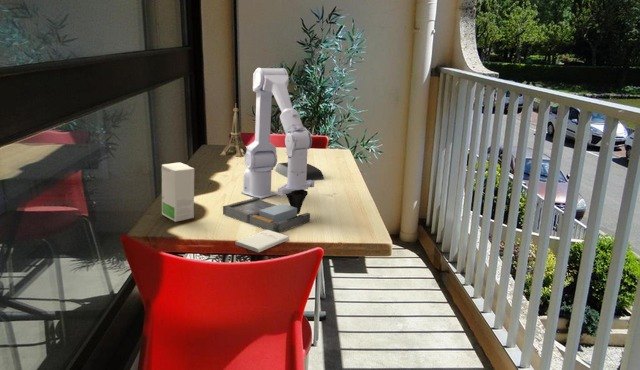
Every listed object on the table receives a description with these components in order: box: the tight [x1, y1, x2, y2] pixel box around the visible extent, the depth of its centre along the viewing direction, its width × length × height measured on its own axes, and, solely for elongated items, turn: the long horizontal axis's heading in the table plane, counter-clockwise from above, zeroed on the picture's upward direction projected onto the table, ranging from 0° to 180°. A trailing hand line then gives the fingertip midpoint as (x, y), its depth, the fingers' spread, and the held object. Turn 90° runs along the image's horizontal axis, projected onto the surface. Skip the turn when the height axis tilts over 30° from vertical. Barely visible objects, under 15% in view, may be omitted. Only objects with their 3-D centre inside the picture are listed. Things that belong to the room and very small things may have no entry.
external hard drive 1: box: [234, 229, 290, 253], centre depth 143 cm, size 2×8×12 cm
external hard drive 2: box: [274, 162, 325, 182], centre depth 214 cm, size 13×19×4 cm
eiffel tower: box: [219, 104, 247, 158], centre depth 243 cm, size 11×11×25 cm
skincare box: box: [161, 161, 195, 223], centre depth 158 cm, size 8×7×16 cm
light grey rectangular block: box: [259, 203, 298, 223], centre depth 160 cm, size 6×10×4 cm, turn 140°
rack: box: [222, 197, 311, 233], centre depth 162 cm, size 23×14×3 cm, turn 51°
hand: (295, 213), depth 164 cm, fingers closed
